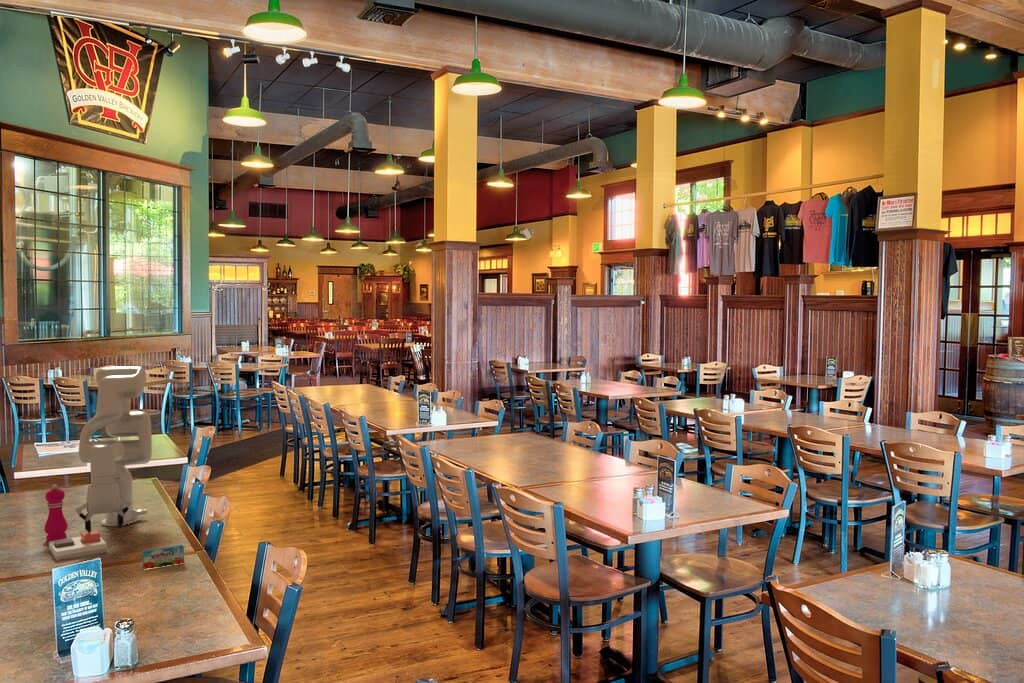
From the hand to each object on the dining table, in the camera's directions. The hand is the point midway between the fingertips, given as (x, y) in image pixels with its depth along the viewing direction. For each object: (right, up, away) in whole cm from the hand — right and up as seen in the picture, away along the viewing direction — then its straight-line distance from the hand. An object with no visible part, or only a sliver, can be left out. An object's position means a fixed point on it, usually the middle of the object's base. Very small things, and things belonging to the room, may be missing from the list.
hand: (104, 529), depth 278 cm
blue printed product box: (+30, -7, -22) cm, 38 cm away
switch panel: (-7, -6, -5) cm, 10 cm away
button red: (-4, -3, -2) cm, 5 cm away
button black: (-10, -5, -7) cm, 13 cm away
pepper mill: (-22, -6, +9) cm, 24 cm away
